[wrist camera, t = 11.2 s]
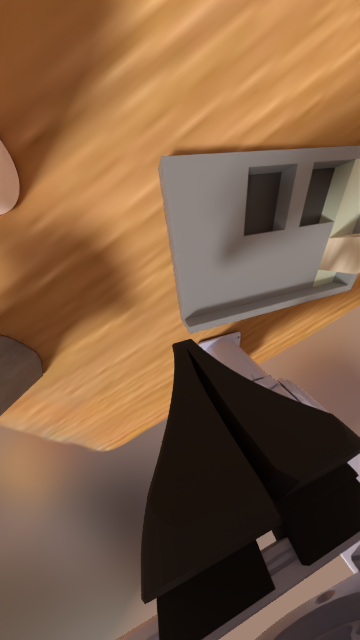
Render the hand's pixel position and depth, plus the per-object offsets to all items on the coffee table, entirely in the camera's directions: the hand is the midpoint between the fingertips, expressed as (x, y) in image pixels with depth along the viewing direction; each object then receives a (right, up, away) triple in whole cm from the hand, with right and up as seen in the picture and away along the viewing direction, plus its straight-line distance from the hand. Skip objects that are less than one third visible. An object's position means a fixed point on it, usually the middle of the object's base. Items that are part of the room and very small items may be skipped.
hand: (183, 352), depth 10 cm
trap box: (+11, +12, +9) cm, 19 cm away
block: (+22, +12, +10) cm, 27 cm away
